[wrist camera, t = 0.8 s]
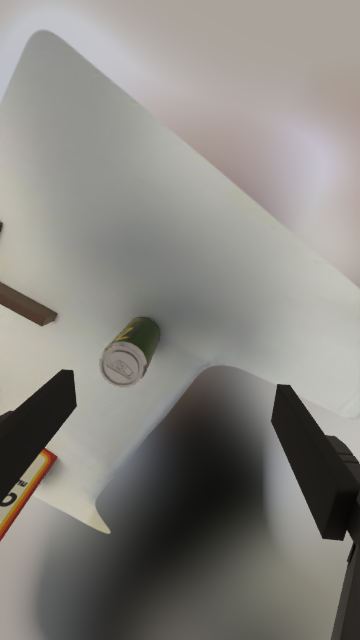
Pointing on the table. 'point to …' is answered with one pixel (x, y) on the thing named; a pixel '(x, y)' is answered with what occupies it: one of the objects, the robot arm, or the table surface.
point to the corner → (25, 305)
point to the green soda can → (130, 353)
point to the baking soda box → (24, 490)
